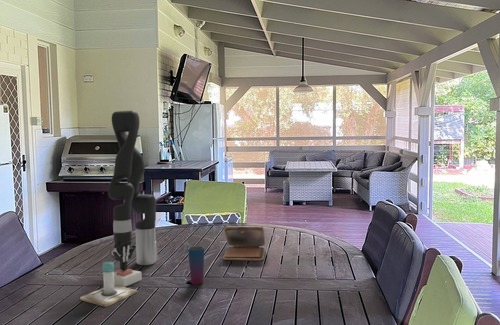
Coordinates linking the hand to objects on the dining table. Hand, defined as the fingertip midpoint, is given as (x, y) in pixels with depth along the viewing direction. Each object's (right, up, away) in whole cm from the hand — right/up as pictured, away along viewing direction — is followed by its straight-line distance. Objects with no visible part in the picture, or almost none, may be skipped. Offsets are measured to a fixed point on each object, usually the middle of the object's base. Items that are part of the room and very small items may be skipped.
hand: (123, 269), depth 195 cm
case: (+51, -2, +38) cm, 64 cm away
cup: (+31, -5, -1) cm, 32 cm away
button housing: (0, -5, +1) cm, 5 cm away
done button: (0, -3, 0) cm, 3 cm away
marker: (-1, -5, -16) cm, 17 cm away
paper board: (-1, -7, -16) cm, 17 cm away
